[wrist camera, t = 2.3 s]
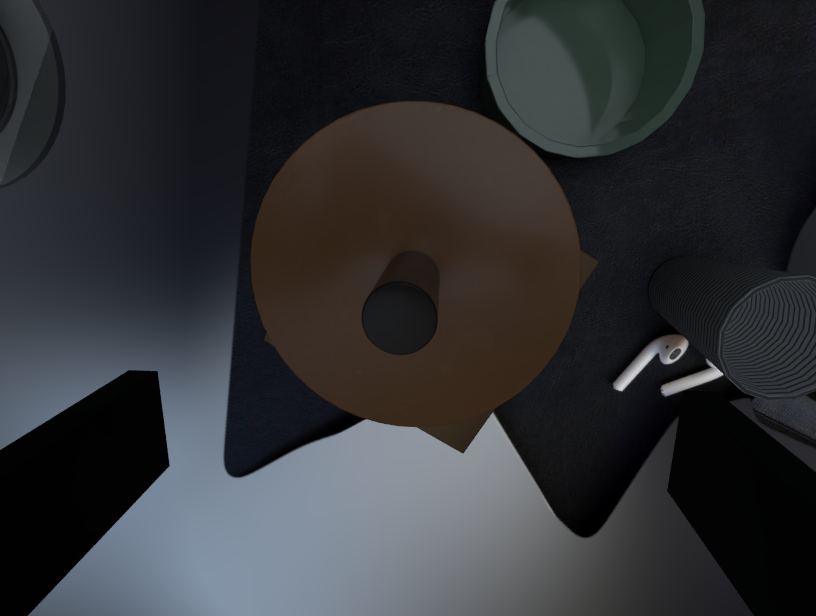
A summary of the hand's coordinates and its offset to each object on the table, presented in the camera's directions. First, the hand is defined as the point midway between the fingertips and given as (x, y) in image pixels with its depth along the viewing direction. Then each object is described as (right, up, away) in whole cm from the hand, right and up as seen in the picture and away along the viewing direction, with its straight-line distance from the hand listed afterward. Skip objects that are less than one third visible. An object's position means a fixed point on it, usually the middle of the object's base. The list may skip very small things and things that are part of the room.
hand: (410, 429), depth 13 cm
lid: (0, +5, +12) cm, 13 cm away
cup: (+25, +5, +35) cm, 43 cm away
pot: (+13, +23, +31) cm, 41 cm away
